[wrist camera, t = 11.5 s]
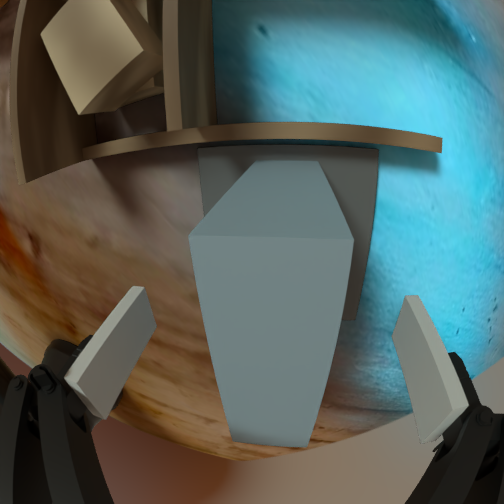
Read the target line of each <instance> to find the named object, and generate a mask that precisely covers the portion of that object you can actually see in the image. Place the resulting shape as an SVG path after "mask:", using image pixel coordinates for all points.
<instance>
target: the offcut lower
mask: <svg viewBox="0 0 504 504" xmlns="http://www.w3.org/2000/svg"><path fill="white" fill-rule="evenodd" d="M131 1H132V2H133V4H134V5H135V6H136V8H137V9H138V10H139V12H140V13H141V15H142V16H143V17H144V19H145V20H146V21H147V23H148V24H149V26H150V27H151V28H152V30H153V31H154V33H155V34H156V35H157V37H158V38H159V40H160V41H161V42H162V44H163V0H131ZM162 93H164V73H163V69H162V70H161V71H160V72H158V73H157V74H156V75H155V76H153V77H152V78H151V79H150V80H149V81H147V82H146V83H145V84H144V85H143V86H142V87H140V88H139V89H138V90H137V91H136V92H135V93H134V94H132V95H131V96H130V97H129V98H128V99H127V100H126V101H125V102H124V103H123V104H122V105H121V106H120V107H122V106H125V105H128V104H131V103H134V102H137V101H140V100H143V99H146V98H149V97H152V96H155V95H159V94H162ZM120 107H119V108H120Z"/></svg>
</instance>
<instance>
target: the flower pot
mask: <svg viewBox="0 0 504 504" xmlns="http://www.w3.org/2000/svg"><path fill="white" fill-rule="evenodd" d="M8 1H9V0H0V8H1V7H2V6H3V5H5V4H6V3H7V2H8Z"/></svg>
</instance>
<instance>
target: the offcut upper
mask: <svg viewBox="0 0 504 504" xmlns="http://www.w3.org/2000/svg"><path fill="white" fill-rule="evenodd" d="M41 37H42V39H43V42H44V44H45V46H46V49H47V51H48V53H49V55H50V58H51V60H52V62H53V64H54V66H55V69H56V71H57V73H58V75H59V77H60V79H61V81H62V83H63V85H64V87H65V89H66V91H67V93H68V95H69V97H70V99H71V101H72V103H73V105H74V107H75V109H76V111H77V113H78V114H79V115H82V114H90V113H99V112H109V111H115V110H116V109H117V108H119V107H120V106H121V105H122V104H123V103H124V102H125V101H126V100H127V99H128V98H129V97H130V96H131V95H132V94H134V93H135V92H136V91H137V90H138V89H139V88H140V87H142V86H143V85H144V84H145V83H146V82H147V81H149V80H150V79H151V78H152V77H153V76H155V75H156V74H157V73H158V72H160V71H161V70H162V69H163V44H162V42H161V41H160V40H159V38H158V37H157V35H156V34H155V33H154V31H153V30H152V28H151V27H150V26H149V24H148V23H147V21H146V20H145V19H144V17H143V16H142V15H141V13H140V12H139V10H138V9H137V8H136V6H135V5H134V4H133V2H132V1H131V0H68V1H67V2H66V3H65V5H64V6H63V7H62V8H61V9H60V10H59V11H58V13H57V14H56V15H55V16H54V17H53V19H52V20H51V21H50V22H49V23H48V25H47V26H46V27H45V29H44V30H43V31H42V33H41Z"/></svg>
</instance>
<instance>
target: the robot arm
mask: <svg viewBox="0 0 504 504" xmlns="http://www.w3.org/2000/svg"><path fill="white" fill-rule="evenodd" d="M156 327H157V326H156V323H155V320H154V317H153V313H152V310H151V307H150V304H149V300H148V297H147V294H146V290H145V287H138V286H132V288H131V289H130V290H129V291H128V292H127V294H126V295H125V296H124V297H123V299H122V300H121V301H120V302H119V304H118V305H117V306H116V307H115V309H114V310H113V311H112V312H111V314H110V315H109V316H108V318H107V319H106V320H105V321H104V323H103V324H102V325H101V327H100V328H99V329H98V331H97V332H96V333H95V335H94V336H93V335H89V336H88V337H87V338H85V339H84V340H83V341H82V342H81V343H80V344H79V346H78V347H77V346H75V345H73V344H71V343H69V342H67V341H64V340H60V339H56V340H53V341H52V342H51V344H50V345H49V346H48V347H47V349H46V350H45V354H44V358H43V361H42V363H41V364H40V365H37V366H35V367H34V368H33V369H32V370H31V371H30V373H29V375H28V379H27V378H26V377H25V376H24V375H17V376H15V374H14V373H13V372H12V371H11V370H10V368H9V367H8V366H7V365H6V363H5V362H4V361H3V360H2V359H1V357H0V504H114V502H113V499H112V497H111V494H110V492H109V489H108V487H107V484H106V481H105V478H104V475H103V472H102V469H101V466H100V463H99V460H98V457H97V453H96V450H95V446H94V443H93V439H92V435H91V431H92V429H93V428H94V426H95V425H96V424H97V423H98V422H100V421H101V420H102V419H105V420H106V419H107V417H108V415H109V413H110V411H111V410H113V409H115V408H116V407H117V406H118V404H119V402H120V400H121V398H122V396H123V393H122V388H123V386H124V384H125V382H126V381H127V379H128V377H129V375H130V373H131V371H132V370H133V368H134V366H135V364H136V362H137V361H138V359H139V357H140V355H141V353H142V352H143V350H144V348H145V346H146V345H147V343H148V341H149V339H150V338H151V336H152V334H153V332H154V331H155V329H156ZM392 339H393V342H394V345H395V348H396V352H397V355H398V358H399V361H400V364H401V368H402V371H403V375H404V378H405V382H406V385H407V389H408V393H409V396H410V400H411V404H412V408H413V412H414V417H415V421H416V425H417V430H418V434H419V440H420V444H424V443H428V442H432V441H435V440H437V439H438V438H439V437H440V436H441V434H442V435H443V439H444V440H443V441H442V442H441V443H440V444H439V445H438V446H436V448H435V449H434V450H433V452H435V451H436V450H437V449H438V450H437V452H436V454H435V456H434V457H433V459H432V461H431V463H430V465H429V466H428V468H427V470H426V472H425V473H424V475H423V477H422V478H421V480H420V482H419V483H418V485H417V486H416V488H415V489H414V491H413V492H412V494H411V495H410V497H409V498H408V500H407V501H406V502H405V504H504V414H494V413H493V412H492V410H491V409H490V408H488V407H487V406H483V405H481V403H480V401H479V398H478V395H477V393H476V390H475V388H474V386H473V383H472V381H471V378H469V374H468V372H467V371H466V367H465V365H464V363H463V361H462V359H461V358H460V357H459V356H458V355H457V354H456V353H455V352H451V353H447V350H446V348H445V346H444V344H443V342H442V340H441V338H440V336H439V334H438V332H437V330H436V328H435V326H434V324H433V322H432V320H431V318H430V316H429V314H428V312H427V310H426V309H425V307H424V305H423V303H422V301H421V299H420V298H419V296H418V295H412V296H405V298H404V301H403V305H402V308H401V311H400V314H399V317H398V320H397V323H396V326H395V329H394V332H393V334H392ZM29 381H30V382H31V383H30V382H29Z"/></svg>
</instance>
